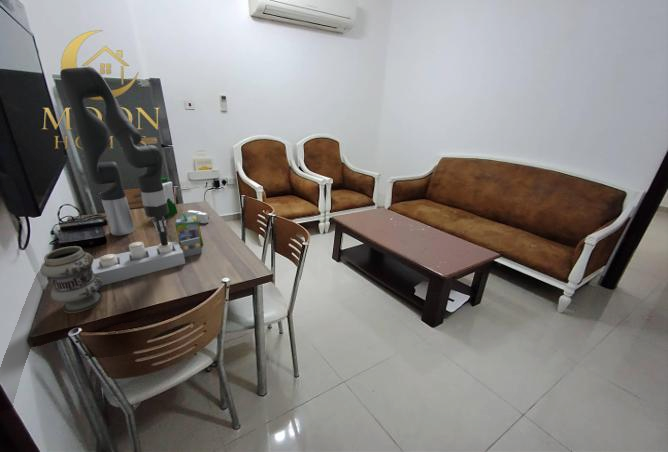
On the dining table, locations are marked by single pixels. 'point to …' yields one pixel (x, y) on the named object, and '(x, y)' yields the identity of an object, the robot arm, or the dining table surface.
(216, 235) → the dining table surface
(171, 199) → the milk carton
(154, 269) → the console
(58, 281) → the apothecary jar
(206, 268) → the dining table surface
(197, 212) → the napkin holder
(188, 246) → the card
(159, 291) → the dining table surface
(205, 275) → the dining table surface
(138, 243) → the button
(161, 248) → the button
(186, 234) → the chalk box
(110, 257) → the button
